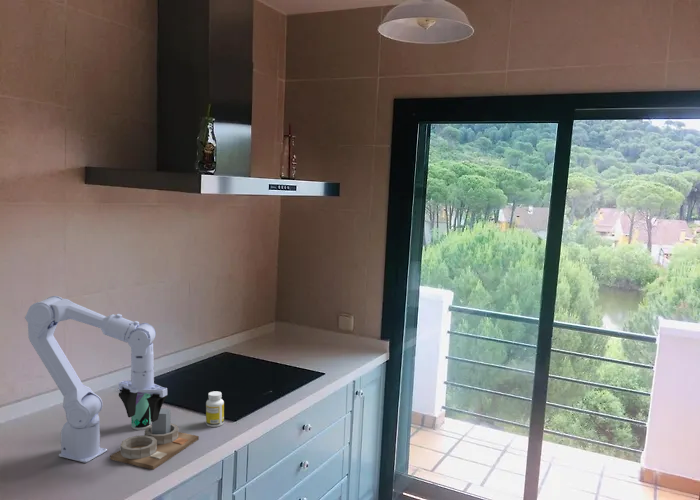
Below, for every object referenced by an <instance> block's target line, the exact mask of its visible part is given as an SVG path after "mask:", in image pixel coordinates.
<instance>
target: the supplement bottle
mask: <svg viewBox="0 0 700 500" xmlns="http://www.w3.org/2000/svg"><path fill="white" fill-rule="evenodd" d="M222 395H223V394H222V392H221V391H217V390H216V391H214V390H213V391H210V392H208V398H207V400H206V402H205V424H206V425H207V427H212V428H217V427H220V426H223V424H224V423H225V401H224V400H223V398H222V397H223V396H222Z"/></svg>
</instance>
